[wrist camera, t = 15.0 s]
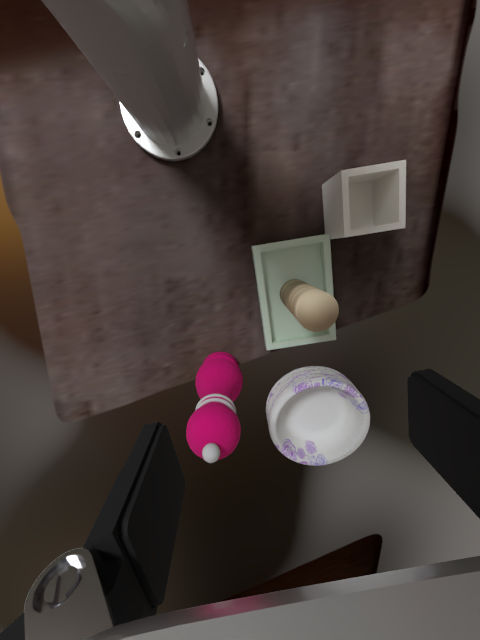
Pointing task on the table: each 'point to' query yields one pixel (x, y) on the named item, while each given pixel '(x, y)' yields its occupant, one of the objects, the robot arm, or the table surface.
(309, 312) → the beige ringed cylinder
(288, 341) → the tray
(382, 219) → the box
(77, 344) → the table surface
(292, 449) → the paper bowls
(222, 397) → the pepper mill
